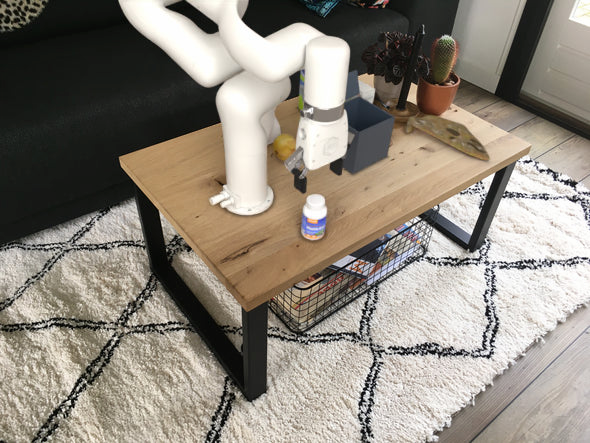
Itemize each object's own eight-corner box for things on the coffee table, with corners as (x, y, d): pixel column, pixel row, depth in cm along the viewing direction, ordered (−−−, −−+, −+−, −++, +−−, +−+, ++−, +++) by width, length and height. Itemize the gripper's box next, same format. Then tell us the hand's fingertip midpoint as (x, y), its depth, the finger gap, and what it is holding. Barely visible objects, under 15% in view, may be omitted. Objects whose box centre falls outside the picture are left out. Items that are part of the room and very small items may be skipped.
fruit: (278, 153, 126) (310, 140, 130) (264, 134, 129) (295, 123, 133) (274, 170, 132) (305, 158, 136) (261, 152, 134) (291, 140, 139)
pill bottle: (304, 242, 111) (307, 209, 105) (298, 226, 115) (300, 193, 109) (327, 238, 113) (331, 206, 106) (320, 222, 116) (324, 190, 110)
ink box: (370, 124, 148) (376, 88, 140) (358, 129, 146) (363, 93, 138) (350, 112, 153) (354, 76, 145) (338, 117, 151) (342, 81, 142)
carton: (353, 174, 130) (359, 133, 122) (320, 150, 137) (323, 110, 129) (387, 156, 137) (395, 116, 128) (353, 135, 144) (359, 96, 135)
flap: (320, 83, 125) (319, 83, 126) (324, 108, 128) (323, 108, 129) (357, 70, 132) (356, 70, 132) (360, 93, 135) (359, 93, 135)
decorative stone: (401, 132, 145) (407, 117, 142) (423, 118, 155) (430, 104, 152) (478, 175, 136) (487, 159, 133) (497, 157, 146) (505, 142, 143)
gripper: (300, 131, 86) (297, 207, 97) (371, 101, 94) (360, 174, 106) (273, 113, 90) (273, 188, 101) (343, 86, 98) (336, 158, 110)
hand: (318, 181), depth 103 cm, fingers open, 9 cm apart
